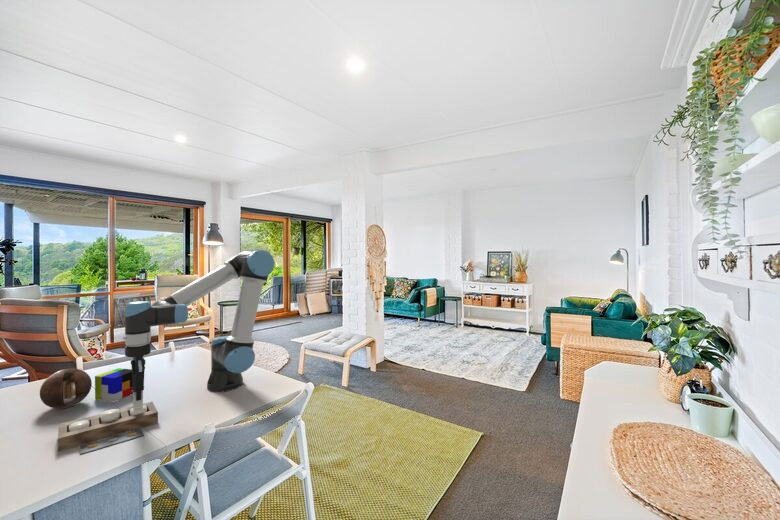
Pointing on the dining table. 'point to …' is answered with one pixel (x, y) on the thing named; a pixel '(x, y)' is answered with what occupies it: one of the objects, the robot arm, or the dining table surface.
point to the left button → (79, 425)
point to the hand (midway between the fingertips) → (138, 408)
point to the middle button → (109, 415)
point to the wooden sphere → (65, 388)
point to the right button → (138, 411)
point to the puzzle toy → (113, 385)
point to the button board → (106, 430)
